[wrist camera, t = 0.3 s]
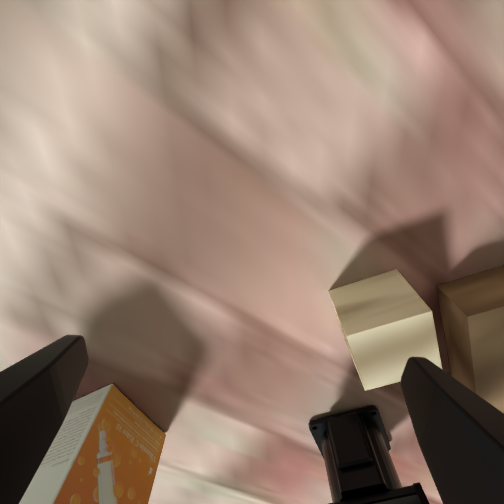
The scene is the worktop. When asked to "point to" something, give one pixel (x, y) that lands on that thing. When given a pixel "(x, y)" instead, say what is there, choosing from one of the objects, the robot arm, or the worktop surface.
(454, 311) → the walnut block
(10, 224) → the worktop surface
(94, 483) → the small box
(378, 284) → the maple cube
